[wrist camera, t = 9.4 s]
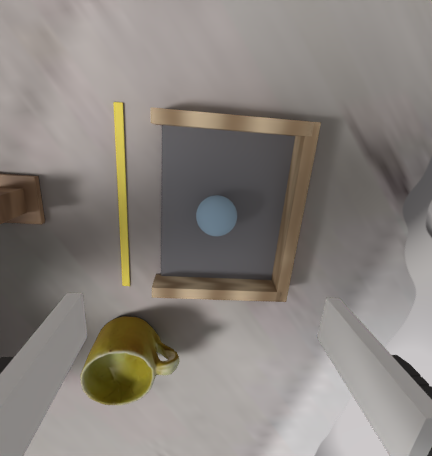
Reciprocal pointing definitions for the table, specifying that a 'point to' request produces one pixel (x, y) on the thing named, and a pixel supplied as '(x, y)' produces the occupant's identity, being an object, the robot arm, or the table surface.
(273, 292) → the wooden u-shaped frame
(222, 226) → the ball
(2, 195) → the tee
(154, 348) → the mug
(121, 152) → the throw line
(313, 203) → the table surface
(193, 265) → the mat
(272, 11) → the table surface
